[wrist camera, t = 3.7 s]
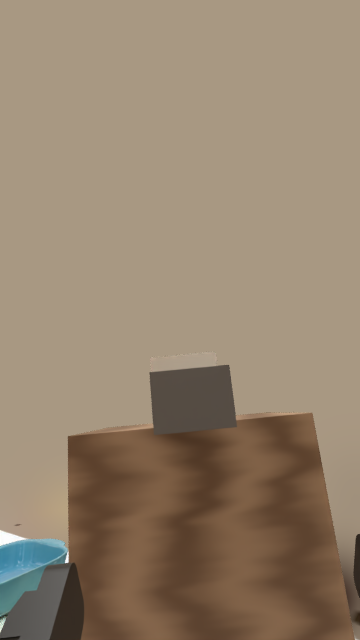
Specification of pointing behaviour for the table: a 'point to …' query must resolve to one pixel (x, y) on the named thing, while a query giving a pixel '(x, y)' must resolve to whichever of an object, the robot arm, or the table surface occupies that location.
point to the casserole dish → (26, 567)
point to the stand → (205, 533)
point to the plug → (191, 394)
